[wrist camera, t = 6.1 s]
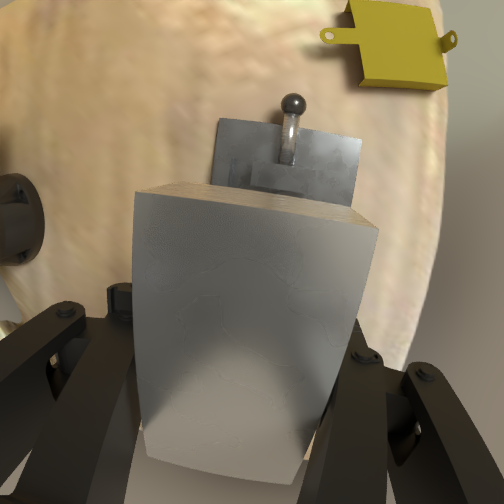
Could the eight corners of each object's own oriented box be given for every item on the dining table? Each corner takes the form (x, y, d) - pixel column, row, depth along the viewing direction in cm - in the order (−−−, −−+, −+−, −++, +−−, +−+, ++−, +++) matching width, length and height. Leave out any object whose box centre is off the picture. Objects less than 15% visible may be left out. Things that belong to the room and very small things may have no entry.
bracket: (310, -34, 21) (438, -19, 19) (307, -2, 29) (417, 5, 27) (334, 94, 25) (470, 102, 23) (325, 107, 33) (439, 111, 31)
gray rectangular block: (226, 288, 19) (147, 456, 7) (241, 170, 17) (135, 191, 5) (292, 299, 19) (290, 484, 7) (314, 181, 17) (378, 229, 5)
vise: (202, 281, 40) (188, 300, 34) (225, 92, 33) (213, 79, 27) (328, 302, 38) (333, 325, 33) (363, 113, 32) (377, 104, 26)
